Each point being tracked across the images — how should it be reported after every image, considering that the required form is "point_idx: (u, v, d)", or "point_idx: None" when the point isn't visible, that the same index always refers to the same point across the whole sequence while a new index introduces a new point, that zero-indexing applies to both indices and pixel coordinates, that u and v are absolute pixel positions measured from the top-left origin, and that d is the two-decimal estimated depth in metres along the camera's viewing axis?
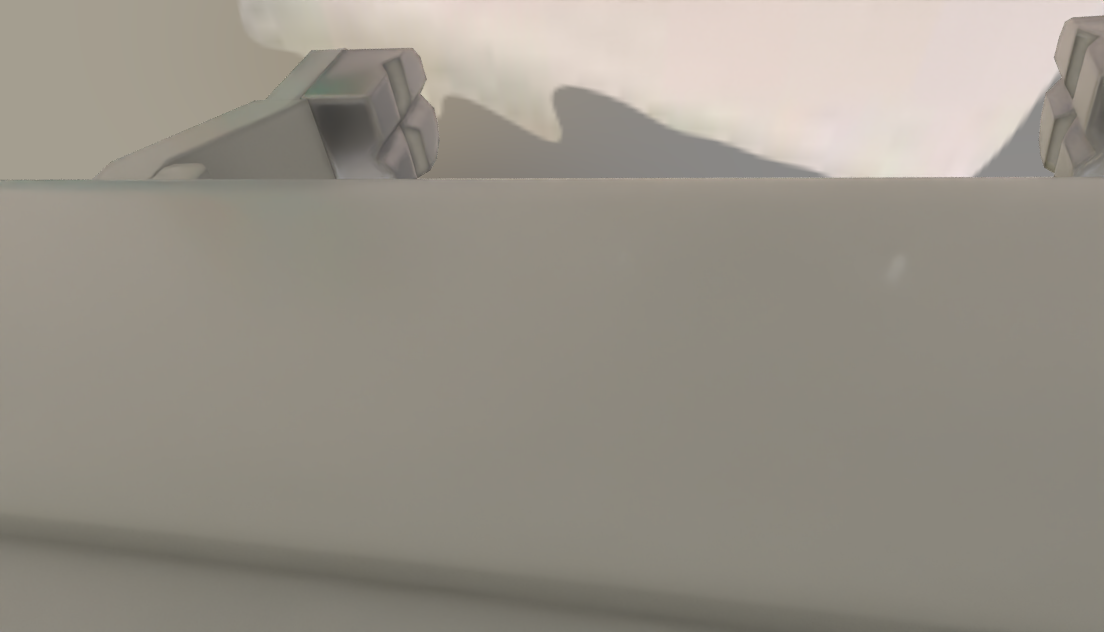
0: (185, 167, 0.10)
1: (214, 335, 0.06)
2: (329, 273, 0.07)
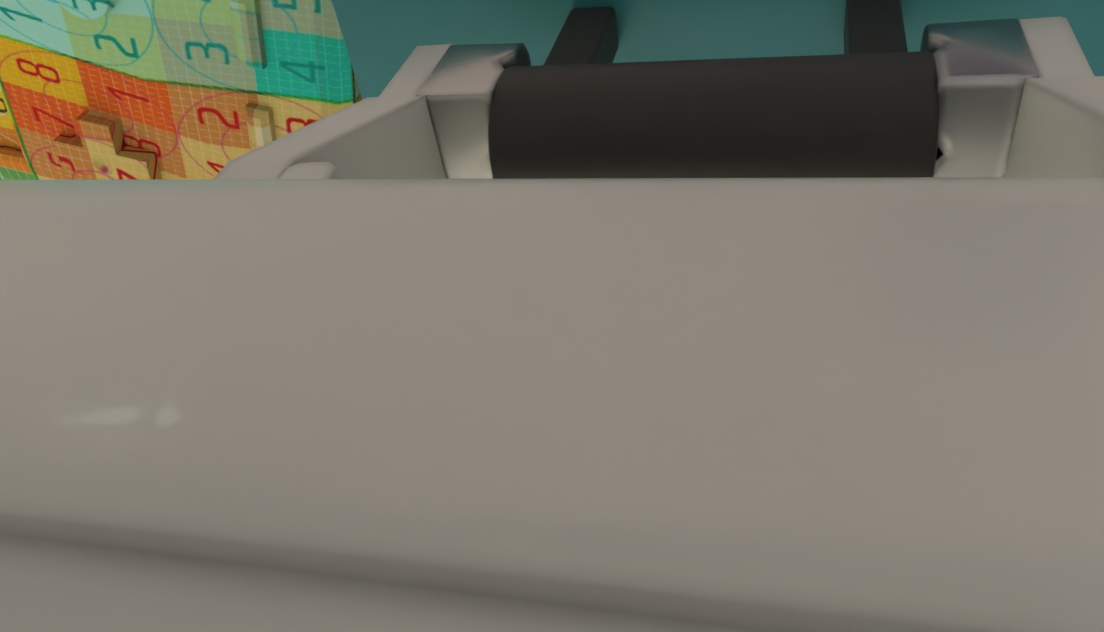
0: (311, 166, 0.10)
1: (214, 335, 0.06)
2: (329, 273, 0.07)
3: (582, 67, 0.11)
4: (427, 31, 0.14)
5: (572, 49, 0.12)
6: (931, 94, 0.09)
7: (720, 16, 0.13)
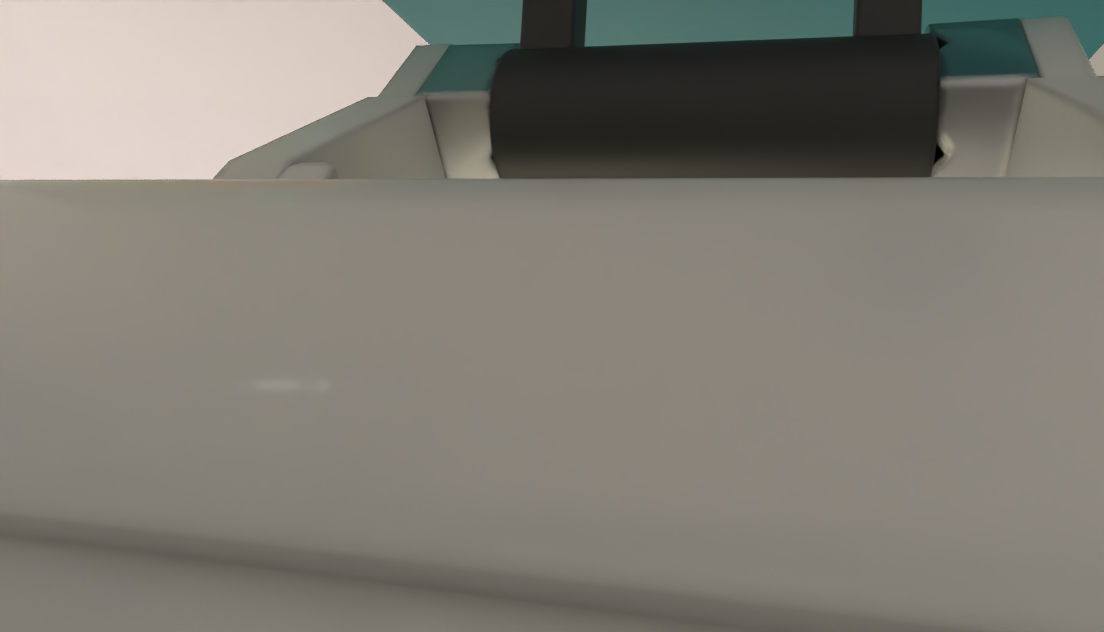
0: (311, 166, 0.10)
1: (214, 335, 0.06)
2: (329, 273, 0.07)
3: (574, 88, 0.10)
4: None
5: None
6: (928, 142, 0.09)
7: None
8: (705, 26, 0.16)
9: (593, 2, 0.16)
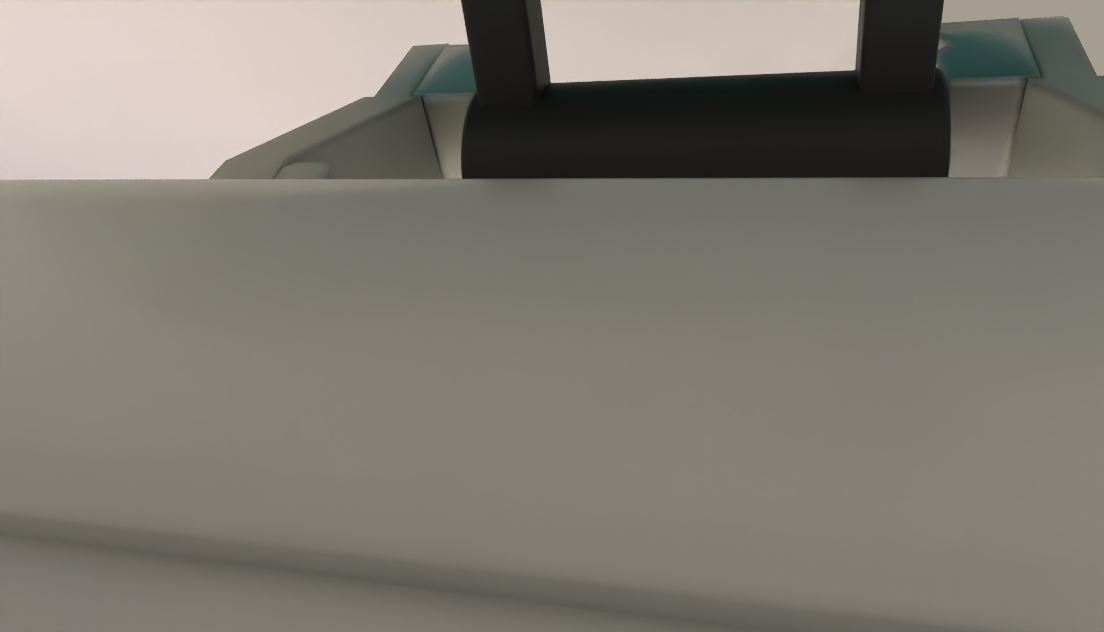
0: (307, 166, 0.10)
1: (214, 335, 0.06)
2: (329, 273, 0.07)
3: None
4: None
5: (493, 17, 0.09)
6: None
7: None
8: None
9: None
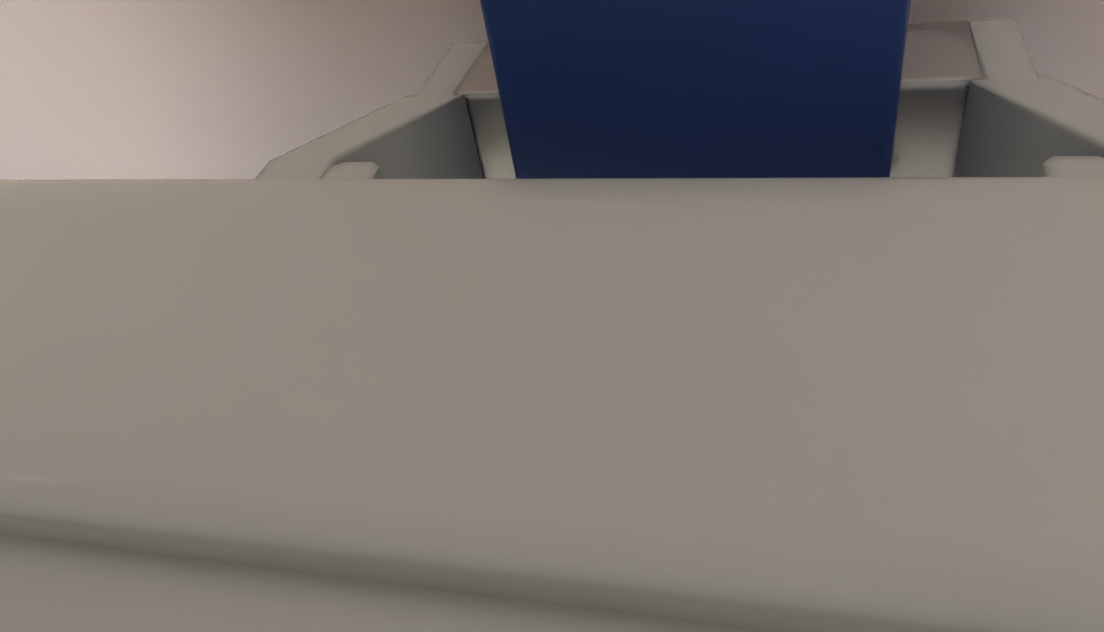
0: (354, 166, 0.09)
1: (214, 337, 0.06)
2: (329, 273, 0.07)
3: None
4: None
5: None
6: None
7: None
8: None
9: None
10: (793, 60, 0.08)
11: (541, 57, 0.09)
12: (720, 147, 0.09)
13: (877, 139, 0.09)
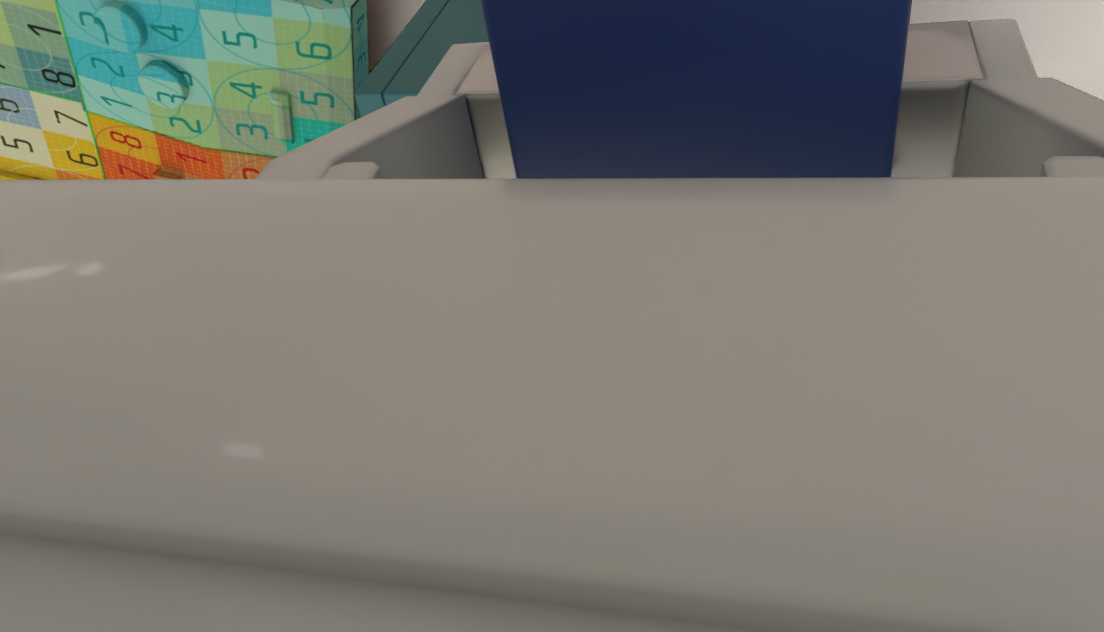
0: (355, 166, 0.09)
1: (214, 335, 0.06)
2: (329, 273, 0.07)
3: None
4: None
5: None
6: None
7: None
8: None
9: None
10: (793, 60, 0.08)
11: (541, 57, 0.09)
12: (721, 147, 0.09)
13: (878, 139, 0.09)
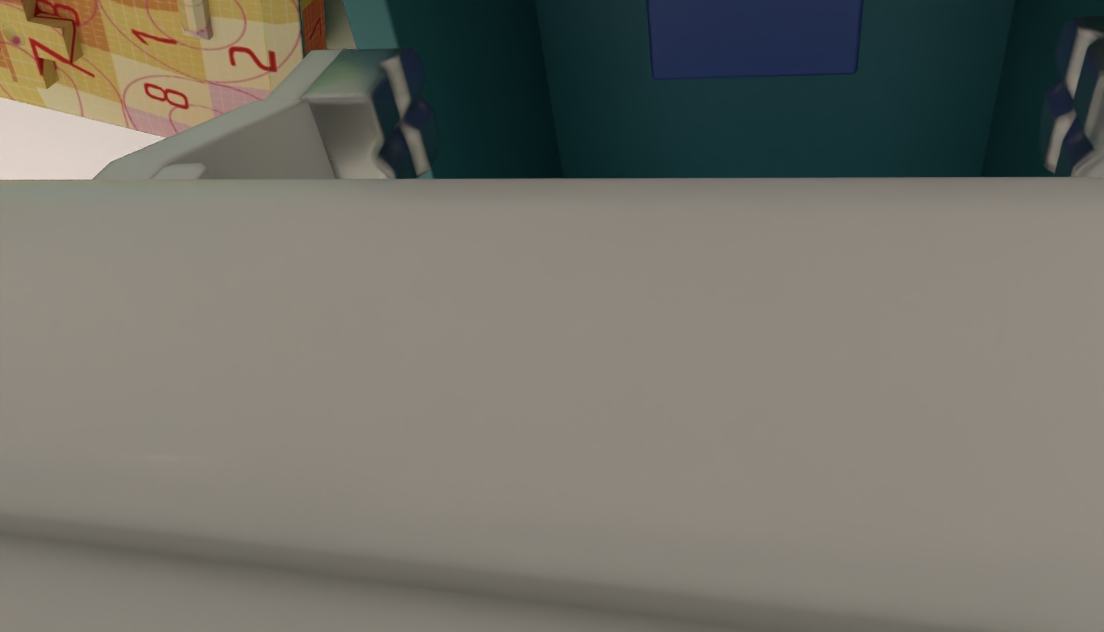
0: (185, 167, 0.10)
1: (214, 335, 0.06)
2: (329, 273, 0.07)
3: None
4: None
5: None
6: None
7: None
8: None
9: None
10: None
11: None
12: None
13: None
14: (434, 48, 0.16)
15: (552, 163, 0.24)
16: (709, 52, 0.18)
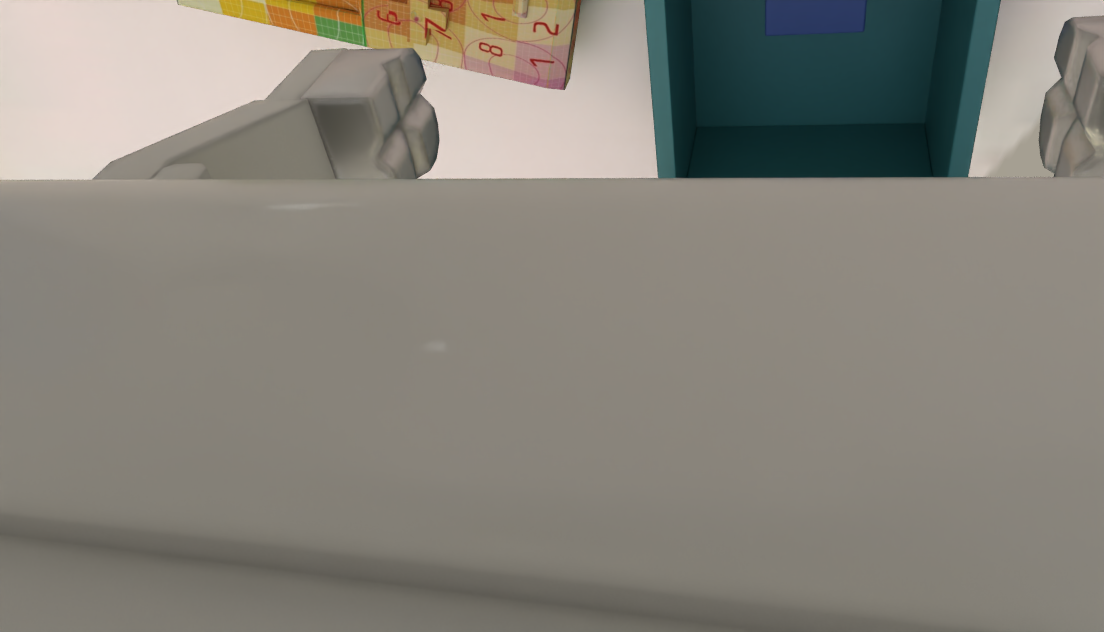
0: (185, 167, 0.10)
1: (214, 335, 0.06)
2: (329, 273, 0.07)
3: None
4: None
5: None
6: None
7: None
8: None
9: None
10: None
11: None
12: None
13: None
14: (671, 19, 0.36)
15: (692, 88, 0.44)
16: (794, 22, 0.37)
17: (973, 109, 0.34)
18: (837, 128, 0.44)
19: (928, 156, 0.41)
